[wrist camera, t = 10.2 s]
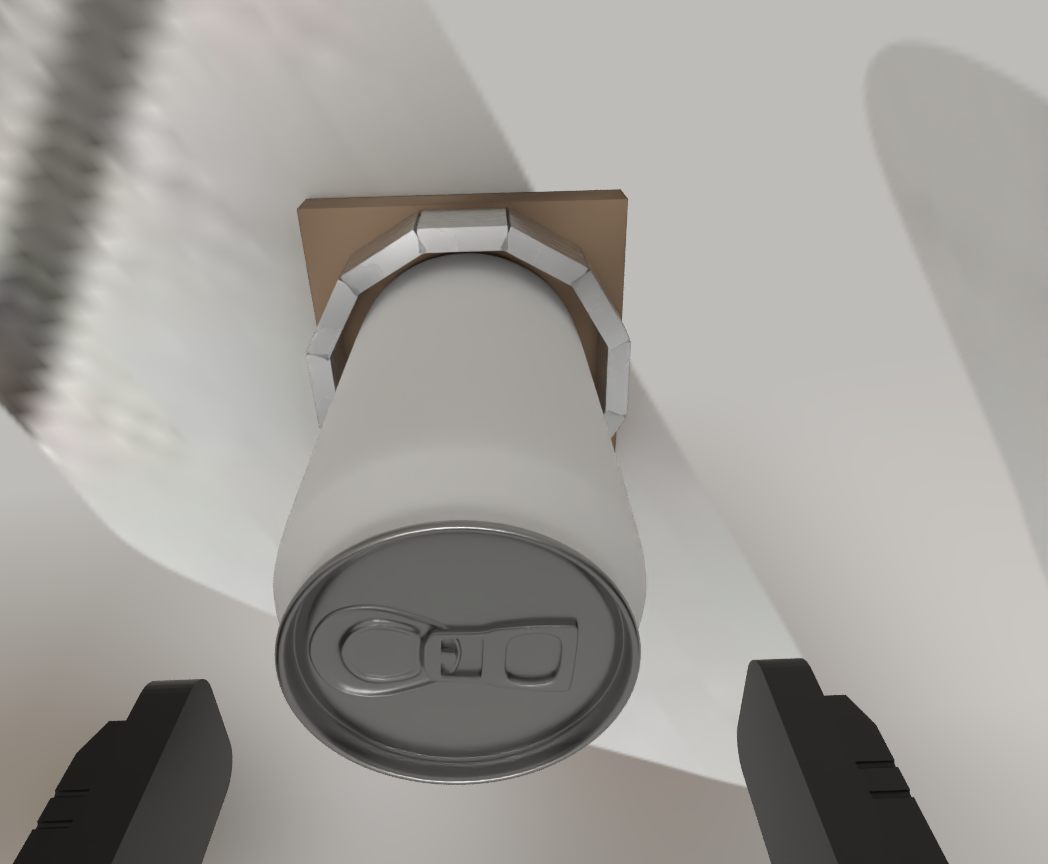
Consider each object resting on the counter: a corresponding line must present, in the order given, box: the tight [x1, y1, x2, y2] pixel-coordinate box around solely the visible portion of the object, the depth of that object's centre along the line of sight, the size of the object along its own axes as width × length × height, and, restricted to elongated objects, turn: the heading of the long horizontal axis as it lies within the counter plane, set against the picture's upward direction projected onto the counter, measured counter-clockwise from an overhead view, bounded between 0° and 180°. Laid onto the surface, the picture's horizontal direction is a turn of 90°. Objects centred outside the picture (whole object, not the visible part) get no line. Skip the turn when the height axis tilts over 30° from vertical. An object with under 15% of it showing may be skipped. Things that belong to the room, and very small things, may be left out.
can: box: [273, 253, 646, 785], centre depth 16 cm, size 6×6×12 cm
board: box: [297, 189, 628, 452], centre depth 22 cm, size 9×9×1 cm
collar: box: [306, 207, 631, 438], centre depth 21 cm, size 9×9×2 cm
